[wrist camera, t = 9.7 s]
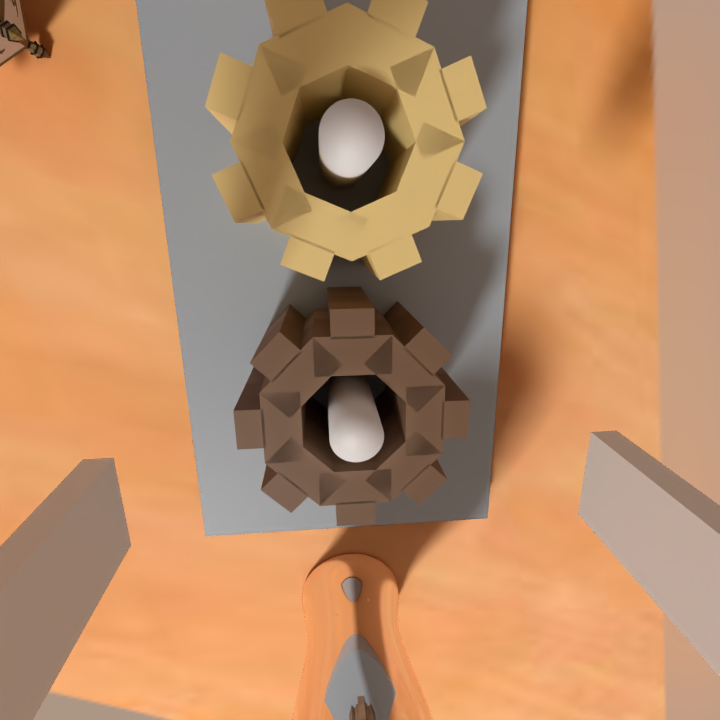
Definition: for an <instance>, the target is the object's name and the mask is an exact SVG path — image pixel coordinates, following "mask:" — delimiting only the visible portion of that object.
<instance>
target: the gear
mask: <svg viewBox="0 0 720 720" xmlns="http://www.w3.org/2000/svg"><path fill="white" fill-rule="evenodd" d="M264 2H265V6H266V10H267V14H268V18H269V22H270V26H271V30H272V34H273V38H271V39H269V40H266V41H264V42H262V43H260V44H259V46H258V49H257V53H256V56H255V59H254V63H253V66H250V65H248V64H246V63H243V62H241V61H239V60H237V59H235V58H233V57H231V56H228V55H226V54H224V53H222V52H220V54H219V57H218V61H217V65H216V68H215V72H214V75H213V79H212V82H211V86H210V89H209V93H208V97H207V100H206V104H205V107H206V108H207V109H208V110H209V111H210V112H211V113H212V115H213V116H214V117H215V118H216V119H217V120H218V121H219V122H220V123H221V124H222V125H223V126H224V127H225V128H226V129H227V130H228V131H229V132H230V133H231V134H232V136H231V140H230V142H231V145H232V147H233V149H234V151H235V153H236V155H237V157H238V159H239V163H236V164H234V165H232V166H230V167H228V168H226V169H223V170H221V171H219V172H217V173H215V174H213V175H212V177H213V179H214V181H215V183H216V185H217V187H218V189H219V191H220V193H221V195H222V197H223V199H224V201H225V203H226V205H227V207H228V209H229V211H230V214H231V216H232V218H233V220H234V222H235V223H260V222H262V221H265V220H267V221H268V223H269V225H270V227H271V229H272V230H275V231H277V232H280V233H282V234H285V235H287V236H290V238H289V241H288V243H287V246H286V249H285V252H284V255H283V258H282V261H281V264H280V265H282V266H285V267H287V268H290V269H293V270H295V271H298V272H300V273H303V274H305V275H308V276H311V277H313V278H316V279H318V280H321V281H325V278H326V275H327V273H328V270H329V267H330V265H331V262H332V259H333V257H334V254H335V255H337V256H340V257H342V258H345V259H347V260H350V261H354V260H356V259H358V258H361V259H362V261H363V264H364V266H365V267H366V268H367V269H368V270H370V271H371V272H372V273H373V274H374V275H375V276H376V277H377V278H378V279H379V280H382V279H384V278H387V277H389V276H391V275H393V274H396V273H398V272H400V271H402V270H405V269H407V268H409V267H411V266H414V265H416V264H418V263H420V262H422V260H421V258H420V255H419V252H418V250H417V247H416V245H415V242H414V239H413V237H412V234H414V233H417V232H419V231H421V230H423V229H425V228H428V227H429V226H430V224H431V221H441V220H463V218H464V216H465V214H466V212H467V209H468V207H469V205H470V202H471V200H472V198H473V195H474V193H475V191H476V189H477V186H478V184H479V182H480V179H481V177H482V175H483V173H481V172H479V171H477V170H474V169H472V168H470V167H468V166H466V165H464V164H462V163H459V162H457V159H458V157H459V154H460V152H461V149H462V147H463V145H464V142H465V140H464V137H463V134H462V131H461V128H460V127H461V126H462V125H463V124H465V123H466V122H468V121H469V120H471V119H472V118H473V117H475V116H476V115H478V114H479V113H481V112H482V111H483V110H485V109H486V108H487V107H486V103H485V100H484V97H483V94H482V90H481V87H480V84H479V80H478V77H477V74H476V70H475V67H474V64H473V60H472V57H471V56H468V57H466V58H464V59H462V60H460V61H458V62H455V63H453V64H451V65H449V66H447V67H445V68H442V69H441V66H440V63H439V60H438V57H437V53H436V50H435V47H434V46H432V45H430V44H428V43H426V42H424V41H422V40H420V39H418V38H416V34H417V31H418V29H419V26H420V23H421V21H422V18H423V15H424V13H425V10H426V7H427V5H428V1H426V0H372V1H371V3H370V6H369V9H368V12H365V11H363V10H361V9H359V8H357V7H355V6H353V5H351V4H349V3H345V4H343V5H341V6H339V7H336V8H334V9H332V10H330V11H328V12H327V9H326V7H325V4H324V2H323V0H264ZM349 98H353V99H359V100H362V101H364V102H366V103H368V104H369V105H371V106H372V107H373V108H374V109H375V110H376V111H377V113H378V114H379V116H380V118H381V120H382V122H383V126H384V131H385V140H384V145H383V149H384V151H385V154H386V157H387V159H388V162H389V167H388V169H387V172H386V175H385V177H384V180H383V182H382V185H381V188H380V190H379V193H378V195H377V198H376V201H373V202H371V203H369V204H367V205H365V206H362V207H360V208H358V209H356V210H354V211H351V212H350V211H347V210H345V209H343V208H340V207H338V206H336V205H333V204H331V203H328V202H326V201H324V200H321V199H319V198H317V197H314V196H312V195H309V194H307V193H305V192H304V189H303V187H302V185H301V183H300V180H299V178H298V176H297V174H296V171H295V169H294V167H293V163H294V160H295V157H296V154H297V151H298V148H299V145H300V142H301V139H302V136H303V133H304V130H305V127H306V126H308V125H311V124H313V123H315V122H317V121H319V120H321V119H322V117H323V115H324V113H325V112H326V111H327V109H328V108H329V107H330V106H332V105H333V104H334V103H336V102H338V101H340V100H343V99H349Z"/></svg>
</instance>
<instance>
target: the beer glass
mask: <svg viewBox="0 0 720 720" xmlns="http://www.w3.org/2000/svg"><path fill="white" fill-rule="evenodd" d="M302 606H303V612H304V618H305V623H306V630H307V648H306V657H305V662H304V667H303V672H302V676H301V681H300V685H299V689H298V694H297V698H296V703H295V707H294V712H293V717H292V720H433V718H432V715H431V713H430V710H429V707H428V704H427V702H426V699H425V697H424V694H423V692H422V689H421V687H420V684H419V682H418V679H417V677H416V675H415V672H414V670H413V667H412V665H411V662H410V660H409V657H408V655H407V652H406V650H405V647H404V644H403V641H402V637H401V633H400V628H399V619H398V607H399V593H398V585H397V581H396V579H395V577H394V575H393V573H392V571H391V570H390V569H389V568H388V567H387V566H386V565H385V564H384V563H383V562H381V561H379V560H378V559H376V558H373V557H371V556H367V555H363V554H344V555H339V556H335V557H333V558H330V559H328V560H326V561H324V562H323V563H321V564H320V565H318V566H317V567H316V568H315V569H314V570H313V571H312V572H311V573H310V575H309V576H308V578H307V579H306V581H305V584H304V587H303V591H302Z"/></svg>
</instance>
